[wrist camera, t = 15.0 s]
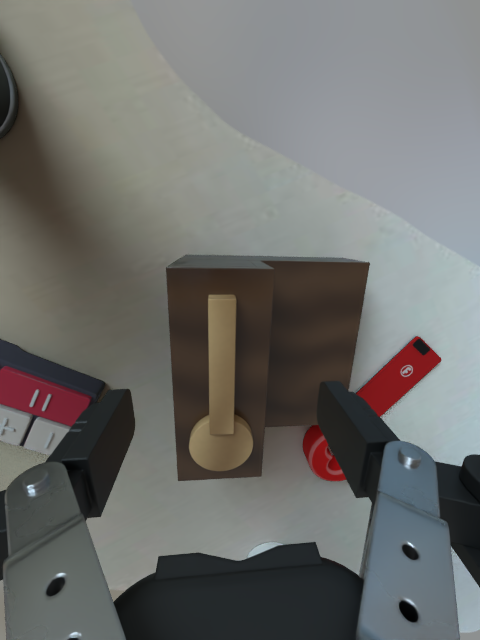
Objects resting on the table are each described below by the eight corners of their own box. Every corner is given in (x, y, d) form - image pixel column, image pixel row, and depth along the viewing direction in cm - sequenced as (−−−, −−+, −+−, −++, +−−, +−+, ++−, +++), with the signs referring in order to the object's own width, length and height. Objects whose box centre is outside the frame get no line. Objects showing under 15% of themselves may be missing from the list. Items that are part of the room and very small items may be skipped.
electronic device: (364, 427, 42) (440, 358, 39) (366, 429, 41) (443, 360, 38) (339, 408, 40) (416, 334, 37) (341, 410, 40) (419, 336, 37)
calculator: (63, 464, 35) (-73, 426, 31) (78, 439, 39) (-41, 402, 35) (96, 398, 32) (-47, 347, 28) (108, 379, 36) (-16, 332, 32)
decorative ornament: (371, 446, 43) (383, 462, 40) (319, 475, 44) (327, 492, 41) (346, 404, 40) (357, 418, 37) (291, 436, 41) (297, 452, 38)
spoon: (190, 464, 25) (189, 479, 23) (184, 294, 20) (181, 299, 18) (250, 461, 25) (253, 475, 24) (258, 294, 21) (261, 299, 19)
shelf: (185, 254, 32) (165, 267, 19) (343, 257, 33) (418, 271, 21) (190, 400, 38) (177, 481, 25) (324, 396, 39) (374, 470, 27)
